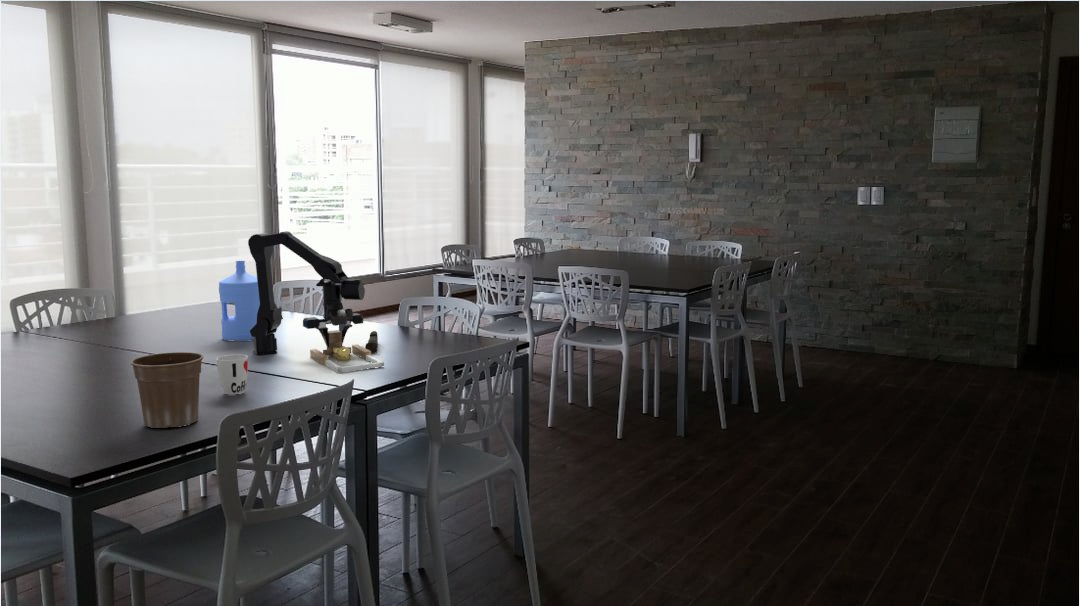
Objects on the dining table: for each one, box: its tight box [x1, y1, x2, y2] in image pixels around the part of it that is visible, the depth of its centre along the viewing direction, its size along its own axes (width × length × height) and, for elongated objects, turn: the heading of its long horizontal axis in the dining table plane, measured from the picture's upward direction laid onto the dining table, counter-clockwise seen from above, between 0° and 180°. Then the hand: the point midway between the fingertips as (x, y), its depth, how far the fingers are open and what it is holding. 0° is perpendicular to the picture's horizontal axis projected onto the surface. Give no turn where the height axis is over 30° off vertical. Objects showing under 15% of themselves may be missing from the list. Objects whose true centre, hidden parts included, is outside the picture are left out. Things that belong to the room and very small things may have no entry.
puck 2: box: [337, 348, 351, 362], centre depth 286 cm, size 4×4×4 cm
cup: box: [216, 353, 249, 396], centre depth 245 cm, size 8×8×10 cm
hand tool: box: [364, 330, 379, 354], centre depth 305 cm, size 19×4×5 cm, turn 5°
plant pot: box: [130, 351, 204, 429], centre depth 216 cm, size 16×16×16 cm
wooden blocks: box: [309, 344, 372, 366], centre depth 289 cm, size 16×13×2 cm
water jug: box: [218, 260, 260, 342], centre depth 323 cm, size 16×16×28 cm
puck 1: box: [332, 345, 347, 360], centre depth 290 cm, size 4×4×4 cm
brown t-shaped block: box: [322, 329, 352, 357], centre depth 294 cm, size 9×6×7 cm, turn 120°
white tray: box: [325, 354, 385, 374], centre depth 277 cm, size 14×13×2 cm
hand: (334, 346), depth 295 cm, fingers closed on brown t-shaped block, 4 cm apart
